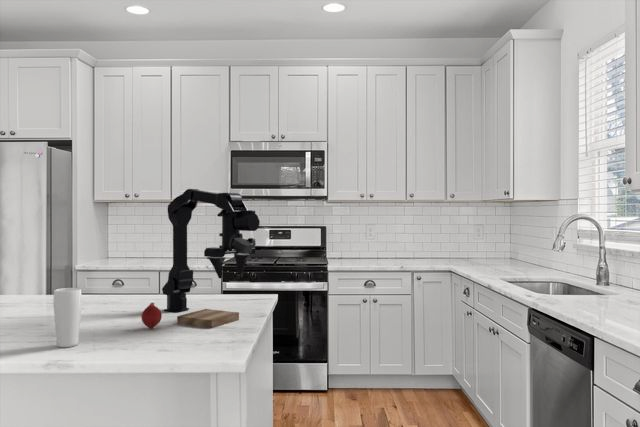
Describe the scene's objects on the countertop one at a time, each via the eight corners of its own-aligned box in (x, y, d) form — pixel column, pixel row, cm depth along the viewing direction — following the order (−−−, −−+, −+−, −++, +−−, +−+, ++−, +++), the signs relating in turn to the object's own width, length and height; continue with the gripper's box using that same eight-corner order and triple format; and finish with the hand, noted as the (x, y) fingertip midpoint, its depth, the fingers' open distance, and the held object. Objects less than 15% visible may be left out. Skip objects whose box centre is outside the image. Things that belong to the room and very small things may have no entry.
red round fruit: (155, 331, 153) (155, 304, 153) (137, 330, 154) (137, 303, 154) (164, 327, 159) (164, 301, 159) (147, 326, 160) (148, 300, 160)
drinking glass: (59, 342, 140) (59, 287, 140) (85, 342, 140) (85, 287, 140) (48, 349, 133) (48, 291, 133) (75, 348, 134) (75, 291, 134)
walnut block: (177, 325, 164) (177, 316, 164) (205, 317, 176) (205, 308, 176) (211, 330, 157) (211, 320, 157) (239, 321, 170) (239, 312, 170)
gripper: (227, 231, 159) (227, 282, 159) (267, 230, 174) (266, 276, 174) (203, 230, 165) (202, 279, 166) (243, 229, 181) (243, 273, 181)
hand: (230, 276), depth 171 cm, fingers open, 9 cm apart
